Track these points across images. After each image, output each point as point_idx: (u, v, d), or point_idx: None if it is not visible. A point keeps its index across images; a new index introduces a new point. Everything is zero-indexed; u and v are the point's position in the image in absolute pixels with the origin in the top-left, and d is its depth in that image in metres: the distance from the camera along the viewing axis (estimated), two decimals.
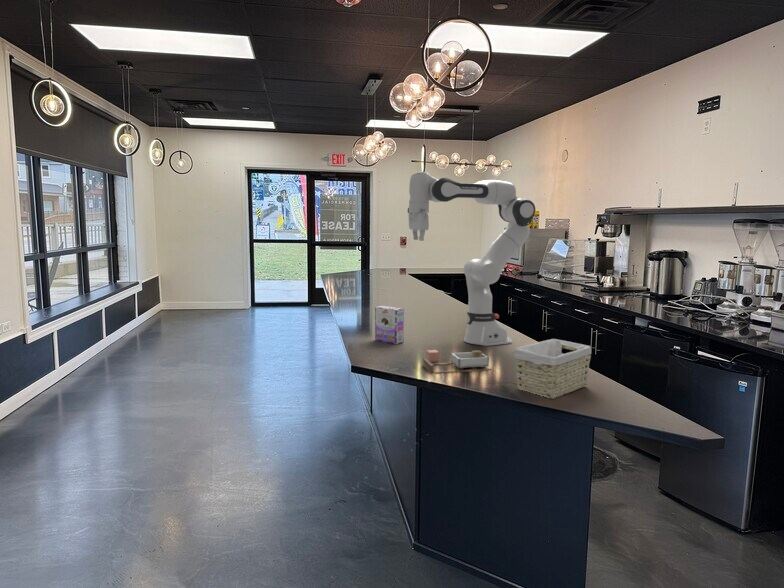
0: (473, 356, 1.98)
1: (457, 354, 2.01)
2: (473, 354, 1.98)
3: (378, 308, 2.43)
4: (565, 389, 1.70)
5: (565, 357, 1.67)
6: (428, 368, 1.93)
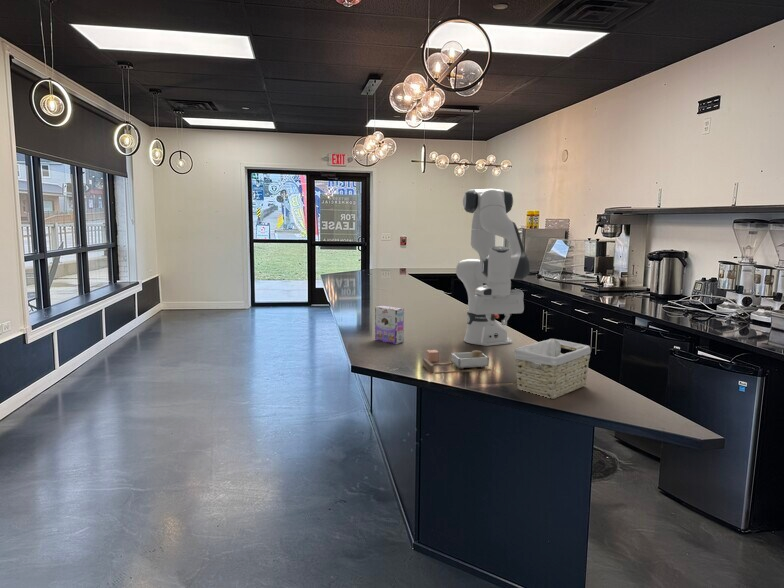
0: (473, 356, 1.98)
1: (457, 354, 2.01)
2: (473, 354, 1.98)
3: (378, 308, 2.43)
4: (565, 389, 1.70)
5: (565, 357, 1.67)
6: (428, 368, 1.93)
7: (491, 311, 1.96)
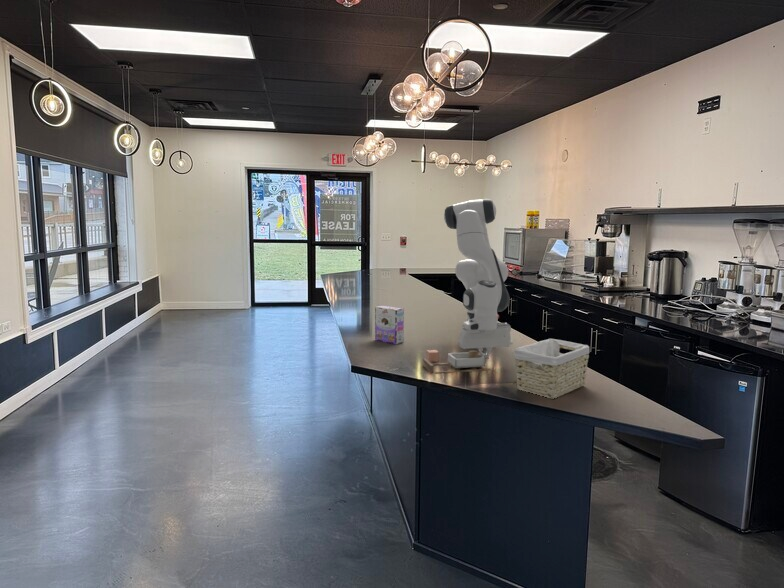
0: (470, 356, 1.97)
1: (454, 354, 2.01)
2: (470, 354, 1.97)
3: (378, 308, 2.44)
4: (565, 389, 1.70)
5: (565, 357, 1.67)
6: (428, 368, 1.93)
7: (478, 345, 1.96)
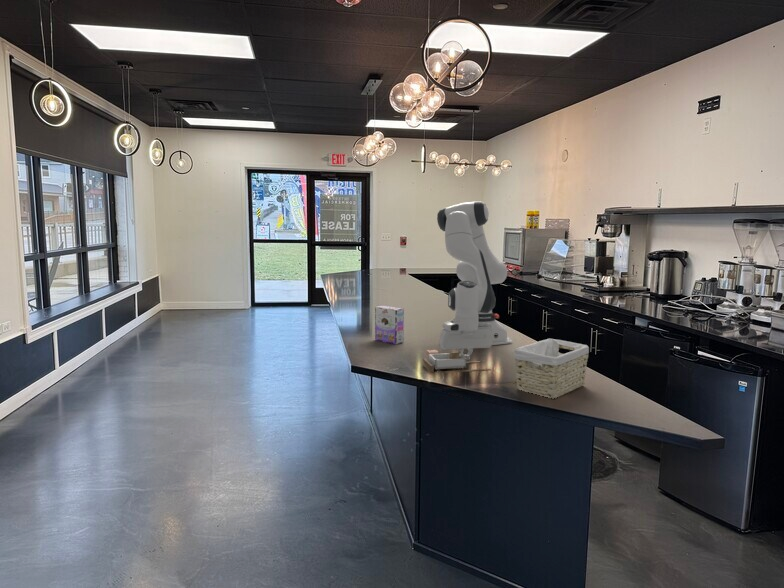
0: (450, 357, 1.96)
1: (434, 355, 1.99)
2: (450, 355, 1.96)
3: (378, 308, 2.44)
4: (565, 389, 1.70)
5: (565, 357, 1.67)
6: (428, 368, 1.93)
7: (459, 346, 1.94)
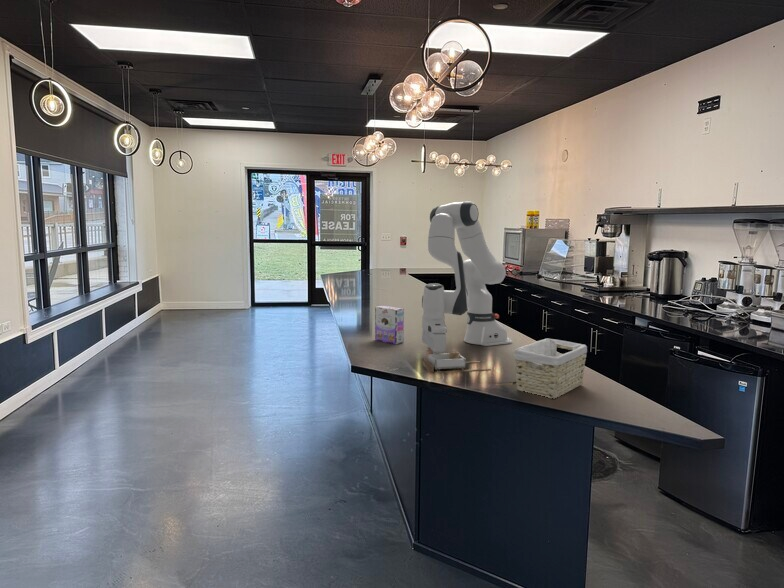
0: (450, 357, 1.96)
1: (434, 355, 1.99)
2: (450, 355, 1.96)
3: (378, 308, 2.44)
4: (565, 388, 1.71)
5: (566, 357, 1.67)
6: (428, 368, 1.93)
7: None
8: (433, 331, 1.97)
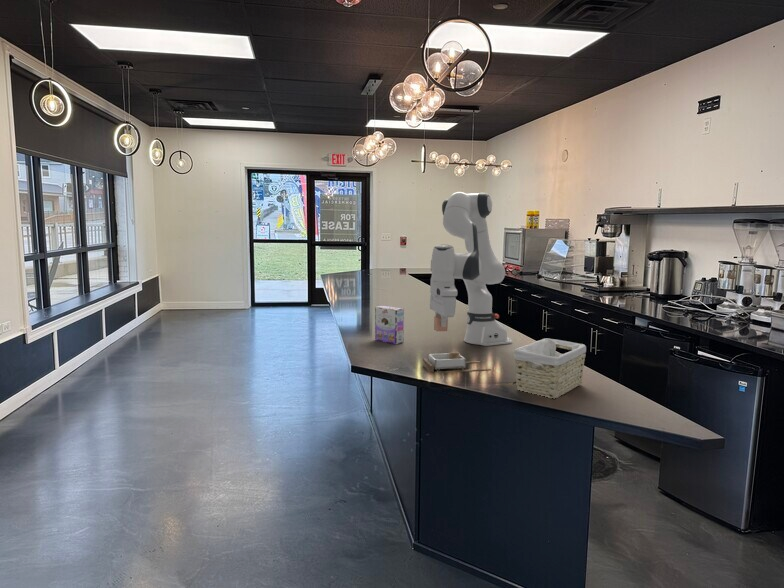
0: (450, 357, 1.96)
1: (434, 355, 1.99)
2: (450, 355, 1.96)
3: (378, 308, 2.43)
4: (565, 388, 1.71)
5: (566, 357, 1.67)
6: (428, 368, 1.93)
7: None
8: (442, 294, 1.84)
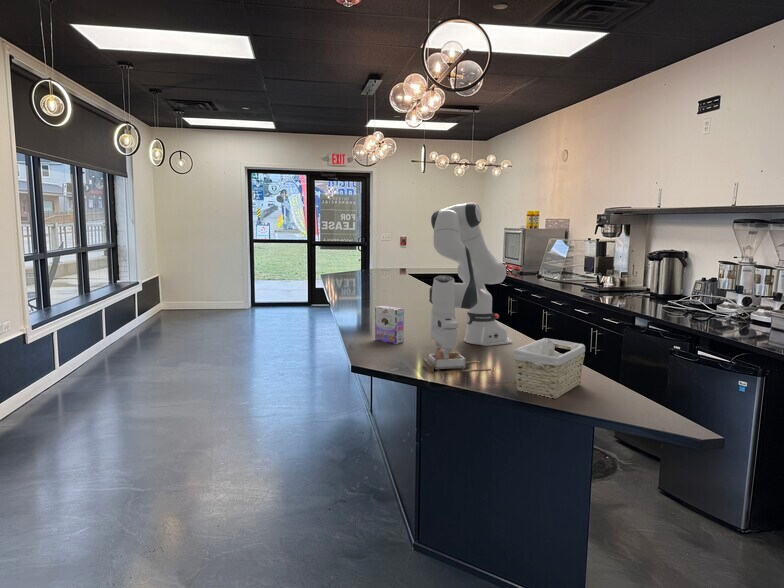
0: (450, 357, 1.96)
1: (434, 355, 1.99)
2: (450, 355, 1.96)
3: (378, 308, 2.44)
4: (565, 388, 1.71)
5: (566, 357, 1.67)
6: (428, 368, 1.93)
7: None
8: (443, 326, 1.85)
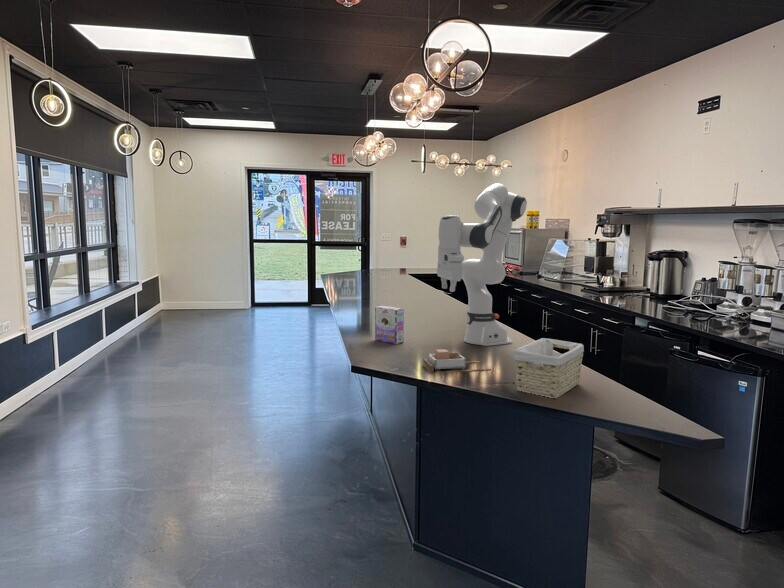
0: (450, 357, 1.96)
1: (434, 355, 1.99)
2: (450, 355, 1.96)
3: (378, 308, 2.44)
4: (565, 388, 1.71)
5: (566, 357, 1.67)
6: (428, 368, 1.93)
7: None
8: (450, 259, 1.98)
